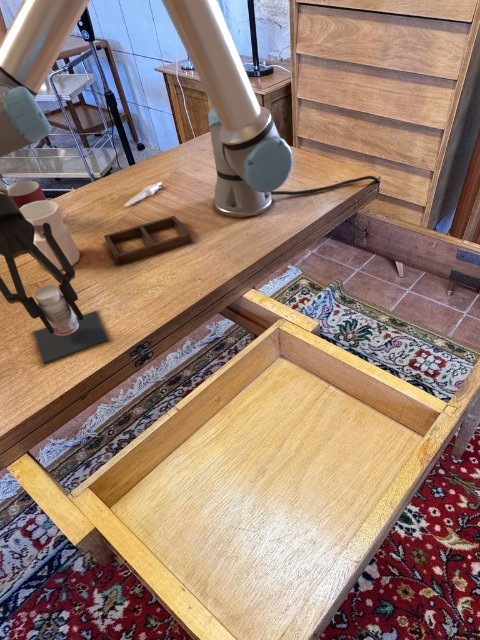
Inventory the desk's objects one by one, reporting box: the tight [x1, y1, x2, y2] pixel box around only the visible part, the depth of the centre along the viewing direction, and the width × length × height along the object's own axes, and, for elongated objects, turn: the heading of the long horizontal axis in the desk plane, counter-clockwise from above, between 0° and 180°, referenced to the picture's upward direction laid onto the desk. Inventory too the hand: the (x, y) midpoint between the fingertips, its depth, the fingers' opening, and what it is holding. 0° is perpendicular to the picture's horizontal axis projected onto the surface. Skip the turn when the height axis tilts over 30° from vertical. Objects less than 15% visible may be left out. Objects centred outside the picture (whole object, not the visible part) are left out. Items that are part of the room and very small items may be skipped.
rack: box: [103, 215, 193, 266], centre depth 107 cm, size 18×11×2 cm, turn 121°
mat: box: [33, 310, 110, 365], centre depth 86 cm, size 12×10×1 cm
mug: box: [6, 180, 47, 209], centre depth 109 cm, size 11×8×10 cm
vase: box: [19, 199, 81, 271], centre depth 99 cm, size 9×9×12 cm
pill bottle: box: [34, 285, 79, 336], centre depth 81 cm, size 5×5×8 cm
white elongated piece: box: [123, 181, 163, 207], centre depth 122 cm, size 15×3×2 cm, turn 149°
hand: (66, 324), depth 80 cm, fingers closed on pill bottle, 5 cm apart
